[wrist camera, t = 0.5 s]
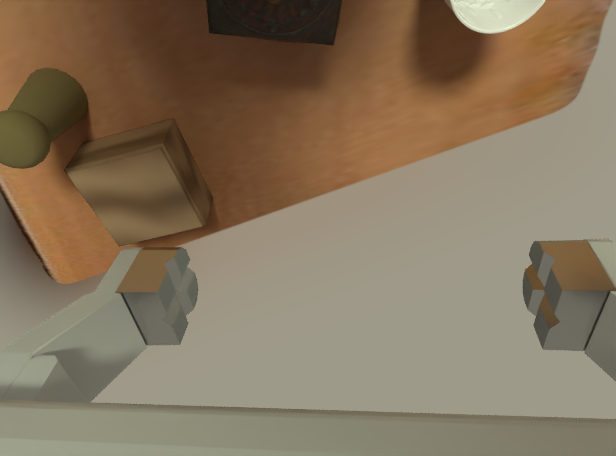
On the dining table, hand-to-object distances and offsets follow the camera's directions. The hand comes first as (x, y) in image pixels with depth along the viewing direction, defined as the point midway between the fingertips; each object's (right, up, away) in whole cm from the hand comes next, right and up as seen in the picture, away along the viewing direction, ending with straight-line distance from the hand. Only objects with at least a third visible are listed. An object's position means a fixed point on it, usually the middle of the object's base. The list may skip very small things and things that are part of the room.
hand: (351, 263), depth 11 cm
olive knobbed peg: (-27, +15, +37) cm, 48 cm away
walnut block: (-20, +8, +43) cm, 48 cm away
